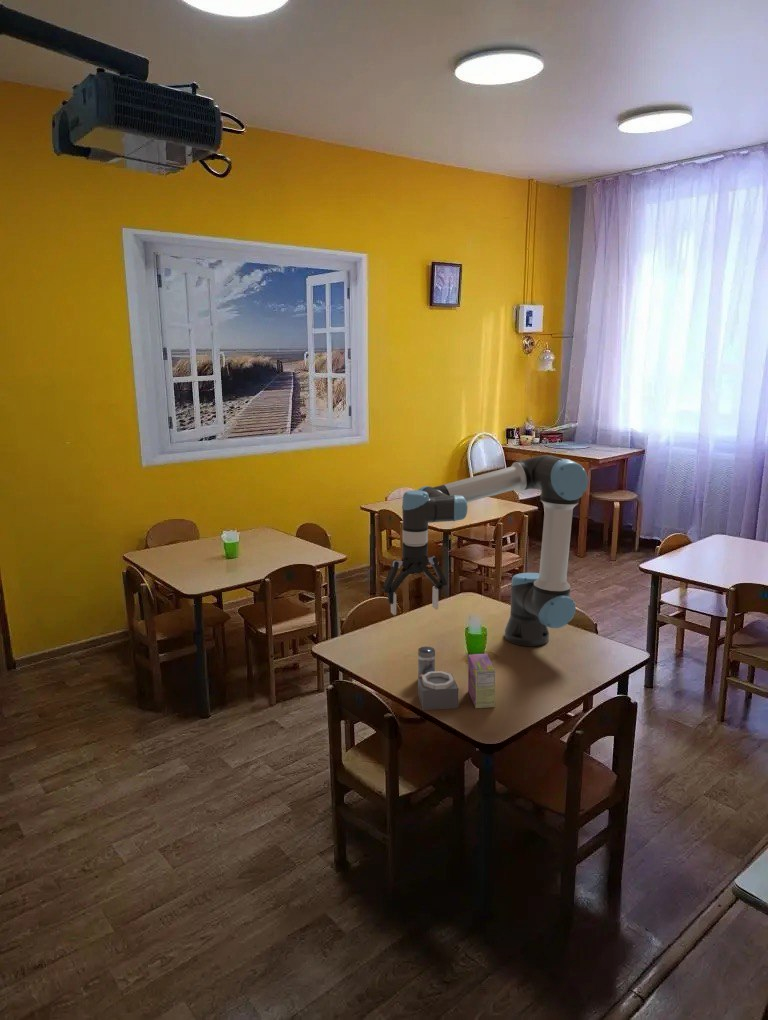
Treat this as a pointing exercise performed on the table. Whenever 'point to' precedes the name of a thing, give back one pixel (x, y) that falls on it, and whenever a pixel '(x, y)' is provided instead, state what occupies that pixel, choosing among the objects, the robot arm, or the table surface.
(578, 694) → the table surface
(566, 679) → the table surface
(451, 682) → the grey holed block
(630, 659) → the table surface
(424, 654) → the clear grey cylinder
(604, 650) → the table surface
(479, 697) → the box
